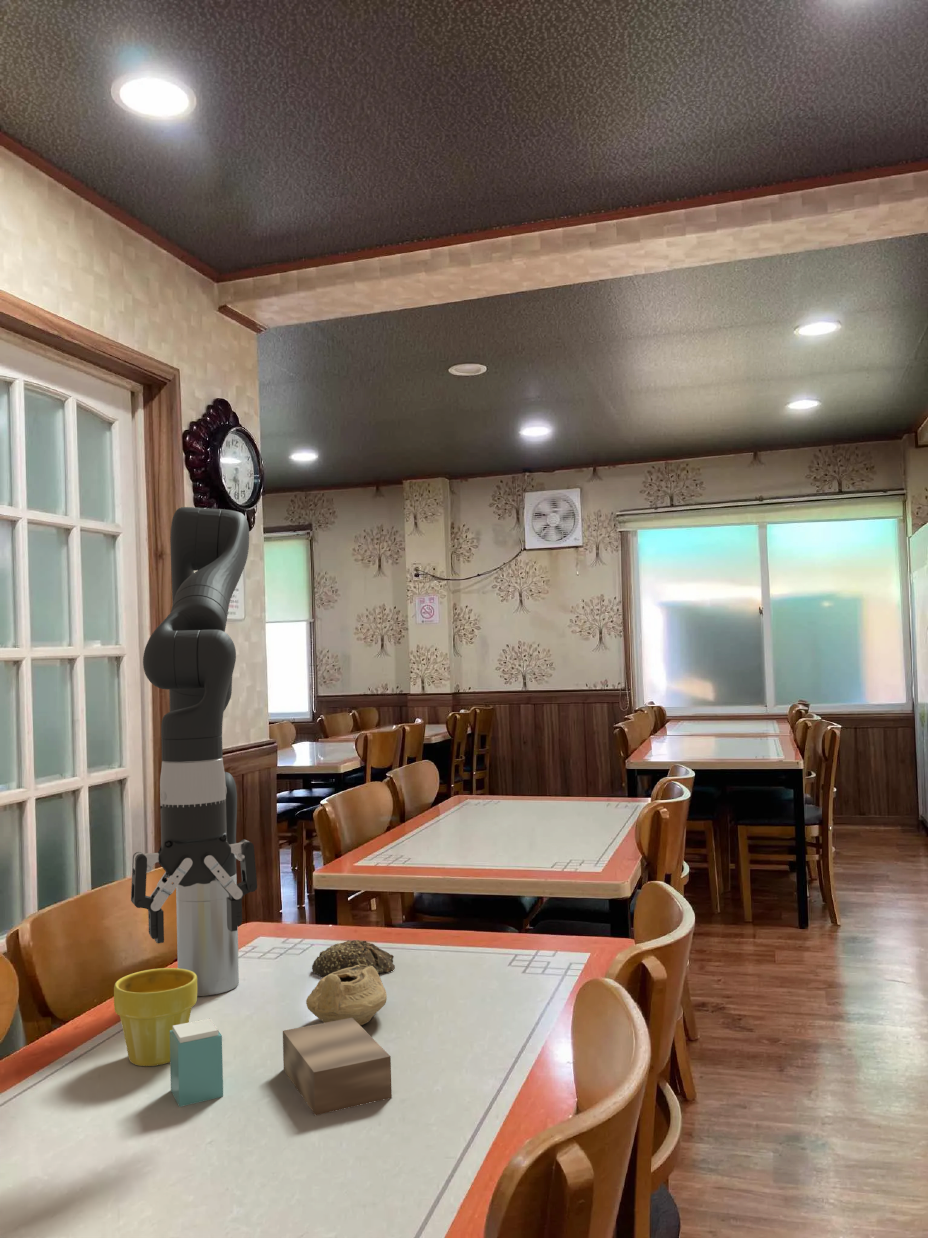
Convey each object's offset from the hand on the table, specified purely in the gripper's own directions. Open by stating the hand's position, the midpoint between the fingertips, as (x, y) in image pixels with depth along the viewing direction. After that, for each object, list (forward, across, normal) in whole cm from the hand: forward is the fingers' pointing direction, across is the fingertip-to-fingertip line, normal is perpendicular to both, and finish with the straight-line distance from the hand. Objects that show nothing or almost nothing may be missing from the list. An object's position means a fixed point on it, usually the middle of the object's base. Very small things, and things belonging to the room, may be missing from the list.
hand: (196, 936), depth 116 cm
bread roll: (+19, -33, -34) cm, 51 cm away
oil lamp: (+18, -24, -13) cm, 33 cm away
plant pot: (+18, +2, -14) cm, 23 cm away
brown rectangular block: (+19, -15, +6) cm, 24 cm away
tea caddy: (+18, 0, 0) cm, 18 cm away
